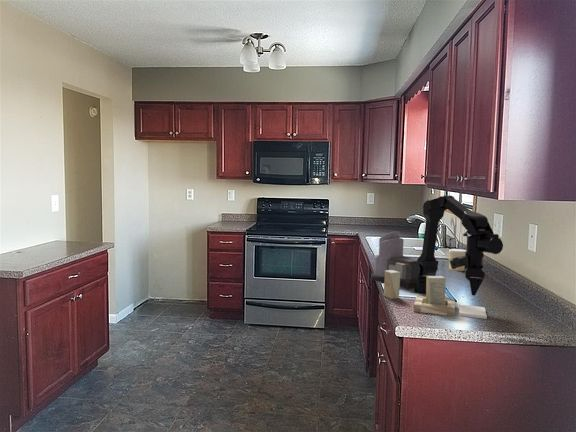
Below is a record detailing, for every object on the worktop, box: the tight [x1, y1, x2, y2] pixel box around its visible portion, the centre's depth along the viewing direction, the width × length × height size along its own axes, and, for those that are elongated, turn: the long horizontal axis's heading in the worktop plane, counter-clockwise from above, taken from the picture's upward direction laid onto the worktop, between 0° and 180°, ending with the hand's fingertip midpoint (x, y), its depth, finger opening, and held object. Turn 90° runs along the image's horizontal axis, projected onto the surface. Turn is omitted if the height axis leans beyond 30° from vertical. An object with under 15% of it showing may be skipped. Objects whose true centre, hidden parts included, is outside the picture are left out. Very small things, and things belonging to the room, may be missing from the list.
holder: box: [413, 295, 456, 317], centre depth 167 cm, size 14×14×2 cm
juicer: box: [370, 231, 418, 290], centre depth 209 cm, size 30×16×24 cm, turn 26°
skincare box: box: [425, 275, 446, 306], centre depth 167 cm, size 6×4×12 cm
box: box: [383, 270, 401, 299], centre depth 182 cm, size 5×4×11 cm
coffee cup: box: [448, 248, 466, 272], centre depth 239 cm, size 9×9×12 cm
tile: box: [458, 304, 488, 320], centre depth 163 cm, size 12×9×1 cm
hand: (472, 292), depth 162 cm, fingers open, 9 cm apart
